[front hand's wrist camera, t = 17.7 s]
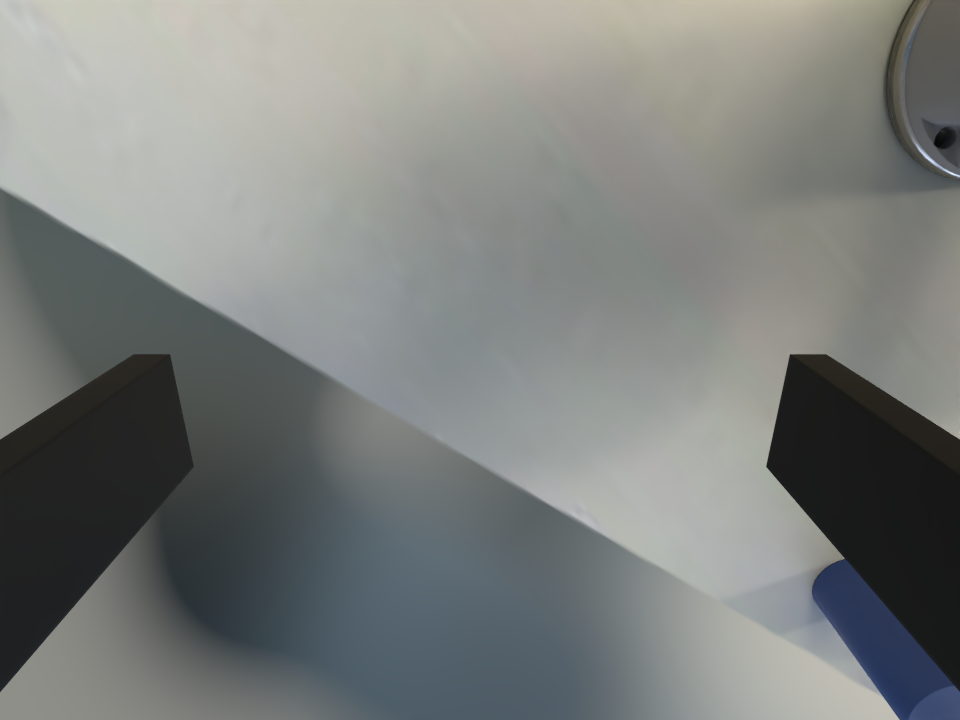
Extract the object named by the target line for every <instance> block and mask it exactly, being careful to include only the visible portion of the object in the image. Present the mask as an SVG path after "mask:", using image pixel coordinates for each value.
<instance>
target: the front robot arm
mask: <svg viewBox="0 0 960 720" xmlns="http://www.w3.org/2000/svg"><path fill="white" fill-rule="evenodd" d="M887 103H888V110H889V115H890V119H891V123H892V125H893V128H894V131H895V133H896V135H897V137H898V139H899V141H900V143H901V144H902V146H903V147H904V148H905V150H906V151H907V152H908V153H909V154H910V156H911V157H912V158H913V159H915V160H916V161H917V162H918V163H919V164H921V165H922V166H924V167H925V168H927V169H928V170H930V171H932V172H934V173H937V174H939V175H942V176H945V177H949V178H954V179H960V0H915V2H914V3H913V5H912V7H911V8H910V10H909V12H908V14H907V16H906V17H905V19H904V21H903V23H902V26H901V28H900V31H899V33H898V35H897V38H896V41H895V44H894V47H893V50H892V54H891V59H890V63H889V69H888V76H887ZM193 467H194V466H193V461H192V456H191V452H190V447H189V442H188V437H187V433H186V428H185V423H184V419H183V414H182V409H181V405H180V400H179V395H178V390H177V386H176V381H175V376H174V371H173V367H172V362H171V357H170V355H169V354H134V355H132V356H131V357H129V358H127V359H126V360H124V361H123V362H121V363H120V364H118V365H116V366H115V367H113V368H112V369H110V370H109V371H107V372H105V373H104V374H102V375H101V376H99V377H98V378H96V379H95V380H93V381H91V382H90V383H88V384H87V385H85V386H84V387H82V388H80V389H79V390H77V391H76V392H74V393H73V394H71V395H69V396H68V397H66V398H65V399H63V400H62V401H60V402H59V403H57V404H55V405H54V406H52V407H51V408H49V409H47V410H46V411H44V412H43V413H41V414H40V415H38V416H37V417H35V418H33V419H32V420H30V421H29V422H27V423H26V424H24V425H23V426H21V427H19V428H18V429H16V430H15V431H13V432H11V433H10V434H8V435H7V436H5V437H4V438H2V439H0V692H1V690H2V689H3V688H4V687H5V686H6V685H7V684H8V682H9V681H10V680H11V679H12V678H13V676H14V675H15V674H16V673H17V672H18V671H19V670H20V668H21V667H22V666H23V665H24V664H25V663H26V661H27V660H28V659H29V658H30V657H31V656H32V654H33V653H34V652H35V651H36V650H37V649H38V647H39V646H40V645H41V644H42V643H43V642H44V640H45V639H46V638H47V637H48V636H49V635H50V633H51V632H52V631H53V630H54V629H55V628H56V627H57V625H58V624H59V623H60V622H61V621H62V620H63V618H64V617H65V616H66V615H67V614H68V613H69V611H70V610H71V609H72V608H73V607H74V606H75V604H76V603H77V602H78V601H79V600H80V599H81V597H82V596H83V595H84V594H85V593H86V592H87V590H88V589H89V588H90V587H91V586H92V585H93V583H94V582H95V581H96V580H97V579H98V578H99V576H100V575H101V574H102V573H103V572H104V571H105V569H106V568H107V567H108V566H109V565H110V564H111V562H112V561H113V560H114V559H115V558H116V557H117V555H118V554H119V553H120V552H121V551H122V550H123V549H124V547H125V546H126V545H127V544H128V543H129V542H130V540H131V539H132V538H133V537H134V536H135V535H136V533H137V532H138V531H139V530H140V529H141V527H142V526H143V525H144V524H145V523H146V522H147V521H148V519H149V518H150V517H151V516H152V515H153V514H154V512H155V511H156V510H157V509H158V508H159V507H160V505H161V504H162V503H163V502H164V501H165V500H166V498H167V497H168V496H169V495H170V494H171V493H172V491H173V490H174V489H175V488H176V487H177V486H178V484H179V483H180V482H181V481H182V480H183V479H184V478H185V476H186V475H187V474H188V473H189V472H190V470H191V469H192V468H193ZM766 467H767V468H768V469H769V471H770V472H771V473H772V474H773V475H774V476H775V478H776V479H777V480H778V481H779V482H780V483H781V485H782V486H783V487H784V488H785V489H786V490H787V491H788V493H789V494H790V495H791V496H792V497H793V498H794V500H795V501H796V502H797V503H798V504H799V505H800V507H801V508H802V509H803V510H804V511H805V512H806V514H807V515H808V516H809V517H810V518H811V519H812V521H813V522H814V523H815V524H816V525H817V526H818V528H819V529H820V530H821V531H822V532H823V533H824V535H825V536H826V537H827V538H828V539H829V540H830V542H831V543H832V544H833V545H834V546H835V547H836V549H837V550H838V551H839V552H840V553H841V554H842V556H843V557H844V558H845V559H846V560H847V561H848V562H849V564H850V565H851V566H852V567H853V568H854V569H855V571H856V572H857V573H858V574H859V575H860V576H861V578H862V579H863V580H864V581H865V582H866V583H867V585H868V586H869V587H870V588H871V589H872V590H873V592H874V593H875V594H876V595H877V596H878V597H879V599H880V600H881V601H882V602H883V603H884V604H885V606H886V607H887V608H888V609H889V610H890V611H891V613H892V614H893V615H894V616H895V617H896V618H897V620H898V621H899V622H900V623H901V624H902V625H903V627H904V628H905V629H906V630H907V631H908V632H909V633H910V635H911V636H912V637H913V638H914V639H915V640H916V642H917V643H918V644H919V645H920V646H921V647H922V649H923V650H924V651H925V652H926V653H927V654H928V656H929V657H930V658H931V659H932V660H933V661H934V663H935V664H936V665H937V666H938V667H939V668H940V670H941V671H942V672H943V673H944V674H945V675H946V677H947V678H948V679H949V680H950V681H951V682H952V684H953V685H954V686H955V687H956V688H957V689H958V691H959V692H960V439H958V438H956V437H955V436H953V435H952V434H950V433H949V432H947V431H945V430H944V429H942V428H941V427H939V426H938V425H936V424H934V423H933V422H931V421H930V420H928V419H927V418H925V417H923V416H922V415H920V414H919V413H917V412H916V411H914V410H913V409H911V408H909V407H908V406H906V405H905V404H903V403H902V402H900V401H898V400H897V399H895V398H894V397H892V396H891V395H889V394H887V393H886V392H884V391H883V390H881V389H880V388H878V387H876V386H875V385H873V384H872V383H870V382H869V381H867V380H865V379H864V378H862V377H861V376H859V375H858V374H856V373H855V372H853V371H851V370H850V369H848V368H847V367H845V366H844V365H842V364H840V363H839V362H837V361H836V360H834V359H833V358H831V357H829V356H828V355H826V354H790V357H789V362H788V367H787V371H786V376H785V381H784V385H783V390H782V395H781V400H780V404H779V409H778V414H777V419H776V423H775V428H774V433H773V437H772V442H771V447H770V452H769V456H768V461H767V466H766Z"/></svg>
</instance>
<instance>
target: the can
mask: <svg viewBox="0 0 960 720" xmlns="http://www.w3.org/2000/svg"><path fill="white" fill-rule="evenodd" d="M813 598H814V600H815V602H816V603H817V605H818V606H819V608H820V609H821V610H822V612H823V613H824V615H825V616H826V617H827V619H828V620H829V622H830V623H831V624H832V626H833V627H834V629H835V630H836V631H837V633H838V634H839V636H840V637H841V638H842V640H843V641H844V643H845V644H846V645H847V647H848V648H849V650H850V651H851V652H852V654H853V655H854V657H855V658H856V659H857V661H858V662H859V664H860V665H861V666H862V668H863V669H864V671H865V672H866V673H867V675H868V676H869V677H870V679H871V680H872V682H873V683H874V684H875V686H876V687H877V689H878V690H879V691H880V693H881V694H882V696H883V697H884V698H885V700H886V701H887V702H888V704H889V705H890V707H891V708H892V710H893V711H894V712H895V714H896V715H897V717H898V718H899V719H900V720H960V692H959V691H958V689H957V688H956V687H955V686H954V685H953V684H952V682H951V681H950V680H949V679H948V678H947V677H946V675H945V674H944V673H943V672H942V671H941V670H940V668H939V667H938V666H937V665H936V664H935V663H934V661H933V660H932V659H931V658H930V657H929V656H928V654H927V653H926V652H925V651H924V650H923V649H922V647H921V646H920V645H919V644H918V643H917V642H916V640H915V639H914V638H913V637H912V636H911V635H910V633H909V632H908V631H907V630H906V629H905V628H904V627H903V625H902V624H901V623H900V622H899V621H898V620H897V618H896V617H895V616H894V615H893V614H892V613H891V611H890V610H889V609H888V608H887V607H886V606H885V604H884V603H883V602H882V601H881V600H880V599H879V597H878V596H877V595H876V594H875V593H874V592H873V590H872V589H871V588H870V587H869V586H868V585H867V583H866V582H865V581H864V580H863V579H862V578H861V576H860V575H859V574H858V573H857V572H856V571H855V569H854V568H853V567H852V566H851V565H850V564H849V562H848V561H847V560H846V559H845V560H841V561H839V562H836V563H834V564H832V565H830V566H829V567H827V568H826V569H825V570H824V571H823V572H821V574H820V575H819V576H818V577H817V579H816V581H815V583H814V586H813Z"/></svg>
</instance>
